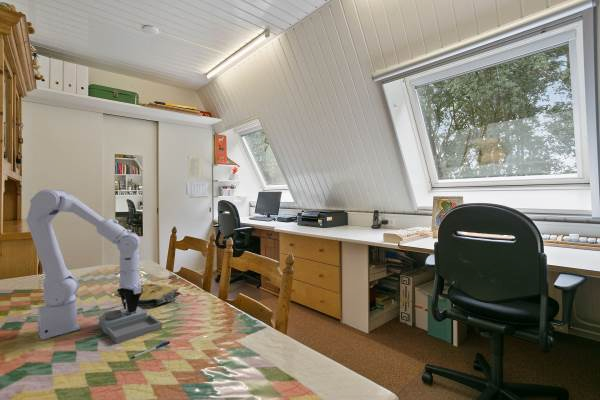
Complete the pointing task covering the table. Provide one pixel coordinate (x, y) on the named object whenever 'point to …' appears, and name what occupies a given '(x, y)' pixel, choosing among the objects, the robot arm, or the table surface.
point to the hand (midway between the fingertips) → (130, 310)
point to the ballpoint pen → (152, 349)
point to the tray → (133, 328)
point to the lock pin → (127, 309)
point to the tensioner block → (119, 317)
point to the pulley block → (156, 295)
